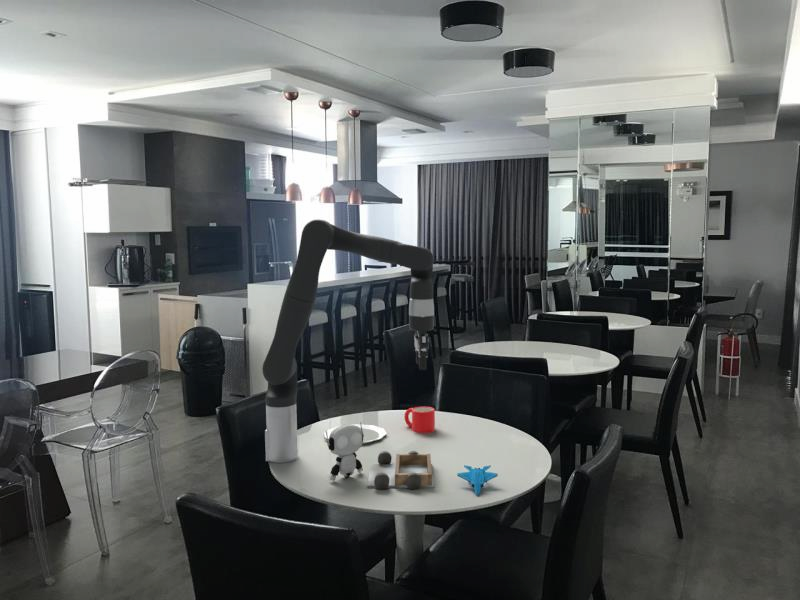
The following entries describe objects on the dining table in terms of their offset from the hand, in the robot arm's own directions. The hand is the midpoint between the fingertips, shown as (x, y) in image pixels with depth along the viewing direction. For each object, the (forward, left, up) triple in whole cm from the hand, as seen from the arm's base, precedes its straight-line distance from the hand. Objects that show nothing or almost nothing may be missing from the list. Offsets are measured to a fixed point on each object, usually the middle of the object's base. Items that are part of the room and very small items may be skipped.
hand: (421, 366), depth 200 cm
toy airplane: (+10, -23, -28) cm, 38 cm away
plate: (-22, +21, -29) cm, 42 cm away
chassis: (-6, -16, -28) cm, 33 cm away
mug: (-1, +28, -28) cm, 40 cm away
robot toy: (-21, -17, -28) cm, 39 cm away
